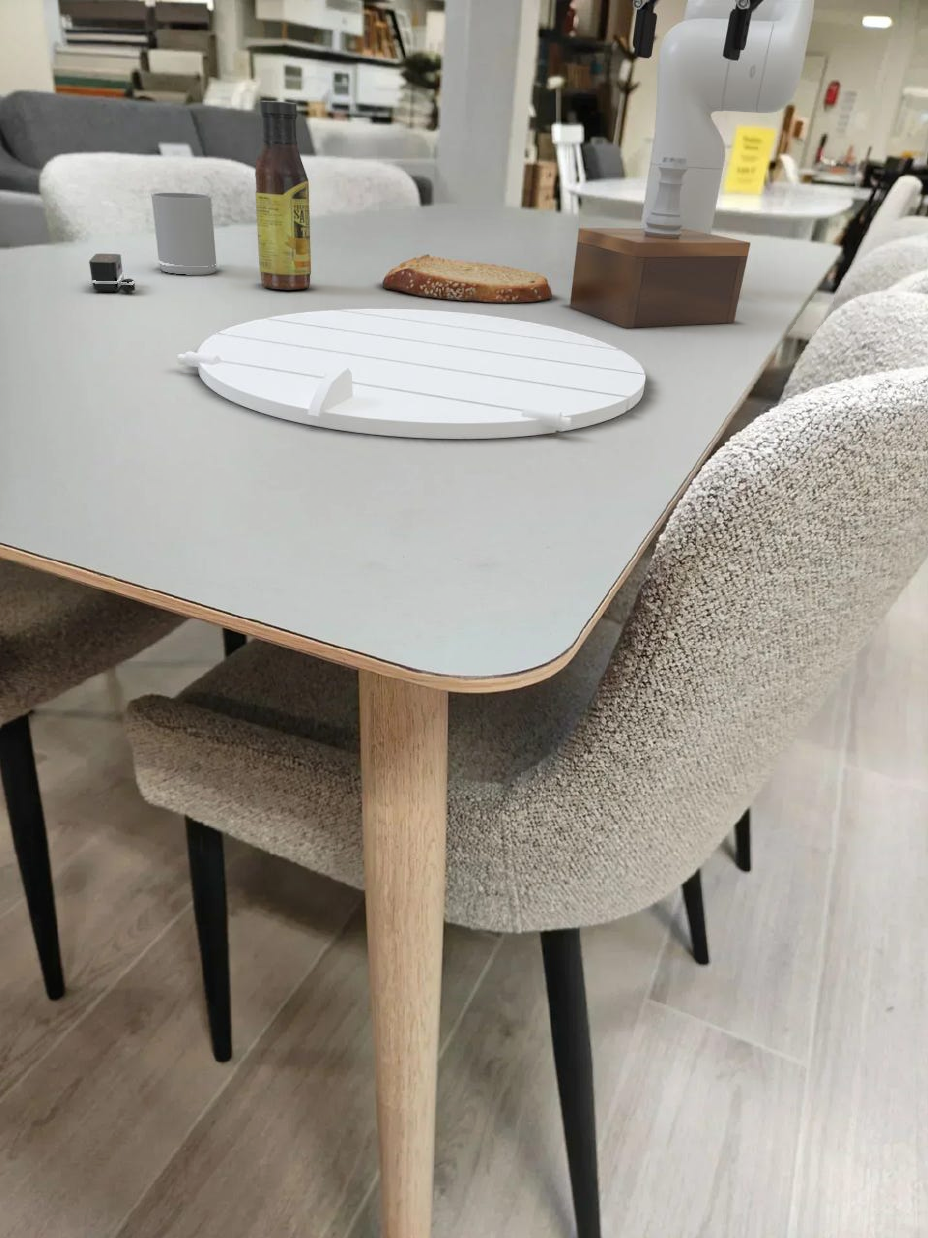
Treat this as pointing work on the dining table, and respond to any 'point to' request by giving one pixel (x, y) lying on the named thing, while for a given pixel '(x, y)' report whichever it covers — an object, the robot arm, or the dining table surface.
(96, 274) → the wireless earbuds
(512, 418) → the lazy susan
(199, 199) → the cup
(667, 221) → the rook chess piece
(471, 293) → the slice of bread
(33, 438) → the dining table surface
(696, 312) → the wooden box
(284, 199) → the sauce bottle
